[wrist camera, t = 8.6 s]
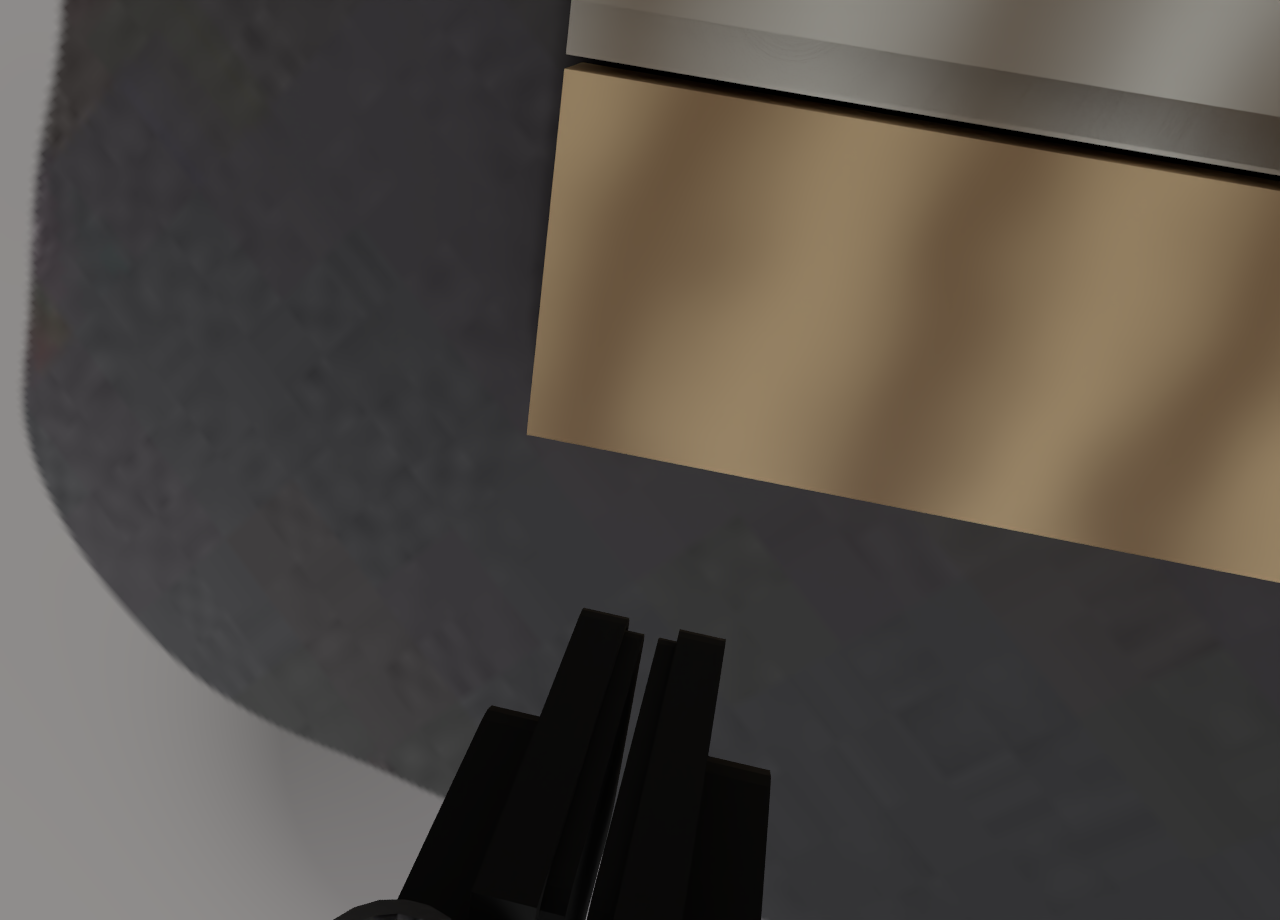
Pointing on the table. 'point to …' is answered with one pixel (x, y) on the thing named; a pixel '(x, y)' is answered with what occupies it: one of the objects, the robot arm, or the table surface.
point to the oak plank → (916, 316)
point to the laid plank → (986, 62)
